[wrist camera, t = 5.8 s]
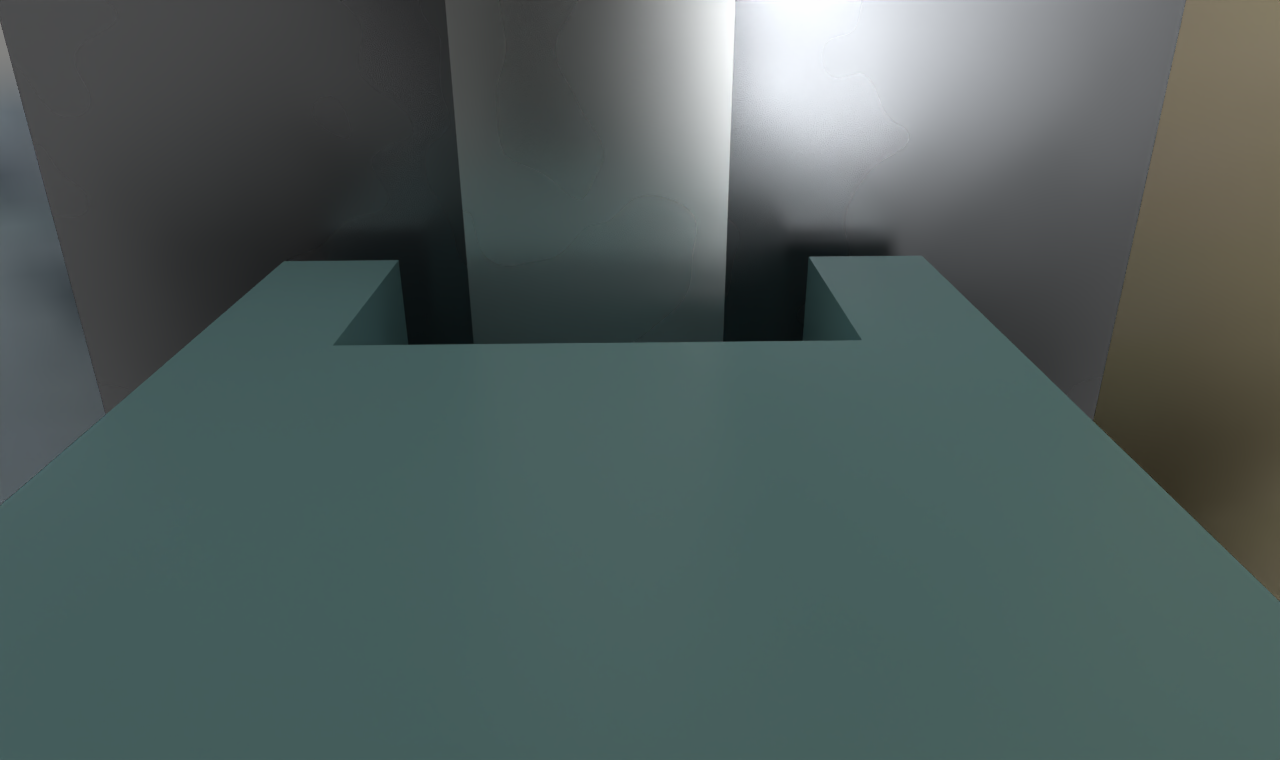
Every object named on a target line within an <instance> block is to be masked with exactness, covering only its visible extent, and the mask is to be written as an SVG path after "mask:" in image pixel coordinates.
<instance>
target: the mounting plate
mask: <svg viewBox="0 0 1280 760" xmlns="http://www.w3.org/2000/svg"><path fill="white" fill-rule="evenodd" d="M1185 2H1186V0H0V22H1V26H2V30H3V33H4V37H5V41H6V45H7V48H8V52H9V56H10V59H11V63H12V67H13V71H14V74H15V78H16V82H17V86H18V89H19V93H20V97H21V100H22V104H23V108H24V112H25V115H26V119H27V123H28V127H29V130H30V134H31V138H32V141H33V145H34V149H35V153H36V156H37V160H38V164H39V167H40V171H41V175H42V179H43V182H44V186H45V190H46V194H47V197H48V201H49V205H50V208H51V212H52V216H53V220H54V223H55V227H56V231H57V235H58V238H59V242H60V246H61V249H62V253H63V257H64V261H65V264H66V268H67V272H68V275H69V279H70V283H71V287H72V290H73V294H74V298H75V302H76V305H77V309H78V313H79V316H80V320H81V324H82V328H83V331H84V335H85V339H86V343H87V346H88V350H89V354H90V357H91V361H92V365H93V369H94V372H95V376H96V380H97V383H98V387H99V391H100V395H101V398H102V402H103V406H104V410H105V413H106V414H107V413H108V412H109V411H111V410H112V409H113V408H114V407H115V406H116V405H118V404H119V403H120V402H121V401H122V400H123V399H125V398H126V397H127V396H128V395H129V394H130V393H132V392H133V391H134V390H135V389H136V388H137V387H138V386H140V385H141V384H142V383H143V382H144V381H145V380H147V379H148V378H149V377H150V376H151V375H152V374H154V373H155V372H156V371H157V370H158V369H159V368H161V367H162V366H163V365H164V364H165V363H166V362H167V361H169V360H170V359H171V358H172V357H173V356H174V355H176V354H177V353H178V352H179V351H180V350H181V349H183V348H184V347H185V346H186V345H187V344H188V343H190V342H191V341H192V340H193V339H194V338H195V337H196V336H198V335H199V334H200V333H201V332H202V331H203V330H205V329H206V328H207V327H208V326H209V325H210V324H212V323H213V322H214V321H215V320H216V319H217V318H219V317H220V316H221V315H222V314H223V313H224V312H225V311H227V310H228V309H229V308H230V307H231V306H232V305H234V304H235V303H236V302H237V301H238V300H239V299H241V298H242V297H243V296H244V295H245V294H246V293H248V292H249V291H250V290H251V289H252V288H253V287H255V286H256V285H257V284H258V283H259V282H260V281H261V280H263V279H264V278H265V277H266V276H267V275H268V274H270V273H271V272H272V271H273V270H274V269H275V268H277V267H278V266H279V265H280V264H281V263H282V262H284V261H365V260H399V268H400V277H401V285H402V294H403V303H404V312H405V320H406V329H407V338H408V345H443V344H544V343H645V342H746V341H803V329H804V315H805V301H806V288H807V274H808V260H809V257H820V256H923V257H924V258H925V259H926V260H927V261H928V262H929V263H930V264H931V265H932V266H933V267H934V268H935V269H936V270H937V271H938V272H939V273H940V274H941V275H942V276H943V277H945V278H946V279H947V280H948V281H949V282H950V283H951V284H952V285H953V286H954V287H955V288H956V289H957V290H958V291H959V292H960V293H961V294H962V295H963V296H964V297H965V298H966V299H967V300H968V301H969V302H970V303H971V304H972V305H973V306H975V307H976V308H977V309H978V310H979V311H980V312H981V313H982V314H983V315H984V316H985V317H986V318H987V319H988V320H989V321H990V322H991V323H992V324H993V325H994V326H995V327H996V328H997V329H998V330H999V331H1000V332H1001V333H1002V334H1003V335H1004V336H1006V337H1007V338H1008V339H1009V340H1010V341H1011V342H1012V343H1013V344H1014V345H1015V346H1016V347H1017V348H1018V349H1019V350H1020V351H1021V352H1022V353H1023V354H1024V355H1025V356H1026V357H1027V358H1028V359H1029V360H1030V361H1031V362H1032V363H1033V364H1034V365H1036V366H1037V367H1038V368H1039V369H1040V370H1041V371H1042V372H1043V373H1044V374H1045V375H1046V376H1047V377H1048V378H1049V379H1050V380H1051V381H1052V382H1053V383H1054V384H1055V385H1056V386H1057V387H1058V388H1059V389H1060V390H1061V391H1062V392H1063V393H1064V394H1065V395H1067V396H1068V397H1069V398H1070V399H1071V400H1072V401H1073V402H1074V403H1075V404H1076V405H1077V406H1078V407H1079V408H1080V409H1081V410H1082V411H1083V412H1084V413H1085V414H1086V415H1087V416H1088V417H1089V418H1090V419H1091V420H1092V421H1093V419H1094V414H1095V410H1096V405H1097V401H1098V396H1099V391H1100V387H1101V382H1102V378H1103V373H1104V369H1105V364H1106V360H1107V355H1108V351H1109V346H1110V342H1111V337H1112V333H1113V328H1114V324H1115V319H1116V315H1117V310H1118V305H1119V301H1120V296H1121V292H1122V287H1123V283H1124V278H1125V274H1126V269H1127V265H1128V260H1129V256H1130V251H1131V247H1132V242H1133V238H1134V233H1135V229H1136V224H1137V219H1138V215H1139V210H1140V206H1141V201H1142V197H1143V192H1144V188H1145V183H1146V179H1147V174H1148V170H1149V165H1150V161H1151V156H1152V152H1153V147H1154V143H1155V138H1156V133H1157V129H1158V124H1159V120H1160V115H1161V111H1162V106H1163V102H1164V97H1165V93H1166V88H1167V84H1168V79H1169V75H1170V70H1171V66H1172V61H1173V56H1174V52H1175V47H1176V43H1177V38H1178V34H1179V29H1180V25H1181V20H1182V16H1183V11H1184V7H1185Z"/></svg>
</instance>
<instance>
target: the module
mask: <svg viewBox="0 0 1280 760" xmlns="http://www.w3.org/2000/svg"><path fill="white" fill-rule="evenodd" d="M0 760H1280V601H1278V600H1277V599H1276V598H1275V597H1274V596H1273V595H1272V594H1271V593H1270V592H1269V591H1268V590H1267V589H1266V588H1265V587H1264V586H1263V585H1262V584H1261V583H1260V582H1259V581H1258V580H1257V579H1256V578H1255V577H1254V576H1253V575H1252V574H1251V573H1250V572H1248V571H1247V570H1246V569H1245V568H1244V567H1243V566H1242V565H1241V564H1240V563H1239V562H1238V561H1237V560H1236V559H1235V558H1234V557H1233V556H1232V555H1231V554H1230V553H1229V552H1228V551H1227V550H1226V549H1225V548H1224V547H1223V546H1222V545H1221V544H1220V543H1219V542H1217V541H1216V540H1215V539H1214V538H1213V537H1212V536H1211V535H1210V534H1209V533H1208V532H1207V531H1206V530H1205V529H1204V528H1203V527H1202V526H1201V525H1200V524H1199V523H1198V522H1197V521H1196V520H1195V519H1194V518H1193V517H1192V516H1191V515H1190V514H1189V513H1187V512H1186V511H1185V510H1184V509H1183V508H1182V507H1181V506H1180V505H1179V504H1178V503H1177V502H1176V501H1175V500H1174V499H1173V498H1172V497H1171V496H1170V495H1169V494H1168V493H1167V492H1166V491H1165V490H1164V489H1163V488H1162V487H1161V486H1160V485H1159V484H1158V483H1156V482H1155V481H1154V480H1153V479H1152V478H1151V477H1150V476H1149V475H1148V474H1147V473H1146V472H1145V471H1144V470H1143V469H1142V468H1141V467H1140V466H1139V465H1138V464H1137V463H1136V462H1135V461H1134V460H1133V459H1132V458H1131V457H1130V456H1129V455H1128V454H1126V453H1125V452H1124V451H1123V450H1122V449H1121V448H1120V447H1119V446H1118V445H1117V444H1116V443H1115V442H1114V441H1113V440H1112V439H1111V438H1110V437H1109V436H1108V435H1107V434H1106V433H1105V432H1104V431H1103V430H1102V429H1101V428H1100V427H1099V426H1098V425H1097V424H1095V423H1094V422H1093V421H1092V420H1091V419H1090V418H1089V417H1088V416H1087V415H1086V414H1085V413H1084V412H1083V411H1082V410H1081V409H1080V408H1079V407H1078V406H1077V405H1076V404H1075V403H1074V402H1073V401H1072V400H1071V399H1070V398H1069V397H1068V396H1067V395H1065V394H1064V393H1063V392H1062V391H1061V390H1060V389H1059V388H1058V387H1057V386H1056V385H1055V384H1054V383H1053V382H1052V381H1051V380H1050V379H1049V378H1048V377H1047V376H1046V375H1045V374H1044V373H1043V372H1042V371H1041V370H1040V369H1039V368H1038V367H1037V366H1036V365H1034V364H1033V363H1032V362H1031V361H1030V360H1029V359H1028V358H1027V357H1026V356H1025V355H1024V354H1023V353H1022V352H1021V351H1020V350H1019V349H1018V348H1017V347H1016V346H1015V345H1014V344H1013V343H1012V342H1011V341H1010V340H1009V339H1008V338H1007V337H1006V336H1004V335H1003V334H1002V333H1001V332H1000V331H999V330H998V329H997V328H996V327H995V326H994V325H993V324H992V323H991V322H990V321H989V320H988V319H987V318H986V317H985V316H984V315H983V314H982V313H981V312H980V311H979V310H978V309H977V308H976V307H975V306H973V305H972V304H971V303H970V302H969V301H968V300H967V299H966V298H965V297H964V296H963V295H962V294H961V293H960V292H959V291H958V290H957V289H956V288H955V287H954V286H953V285H952V284H951V283H950V282H949V281H948V280H947V279H946V278H945V277H943V276H942V275H941V274H940V273H939V272H938V271H937V270H936V269H935V268H934V267H933V266H932V265H931V264H930V263H929V262H928V261H927V260H926V259H925V258H924V257H923V256H820V257H809V260H808V274H807V288H806V301H805V315H804V329H803V341H746V342H645V343H544V344H443V345H408V338H407V329H406V320H405V312H404V303H403V294H402V285H401V277H400V268H399V260H365V261H284V262H282V263H281V264H280V265H279V266H278V267H277V268H275V269H274V270H273V271H272V272H271V273H270V274H268V275H267V276H266V277H265V278H264V279H263V280H261V281H260V282H259V283H258V284H257V285H256V286H255V287H253V288H252V289H251V290H250V291H249V292H248V293H246V294H245V295H244V296H243V297H242V298H241V299H239V300H238V301H237V302H236V303H235V304H234V305H232V306H231V307H230V308H229V309H228V310H227V311H225V312H224V313H223V314H222V315H221V316H220V317H219V318H217V319H216V320H215V321H214V322H213V323H212V324H210V325H209V326H208V327H207V328H206V329H205V330H203V331H202V332H201V333H200V334H199V335H198V336H196V337H195V338H194V339H193V340H192V341H191V342H190V343H188V344H187V345H186V346H185V347H184V348H183V349H181V350H180V351H179V352H178V353H177V354H176V355H174V356H173V357H172V358H171V359H170V360H169V361H167V362H166V363H165V364H164V365H163V366H162V367H161V368H159V369H158V370H157V371H156V372H155V373H154V374H152V375H151V376H150V377H149V378H148V379H147V380H145V381H144V382H143V383H142V384H141V385H140V386H138V387H137V388H136V389H135V390H134V391H133V392H132V393H130V394H129V395H128V396H127V397H126V398H125V399H123V400H122V401H121V402H120V403H119V404H118V405H116V406H115V407H114V408H113V409H112V410H111V411H109V412H108V413H107V414H106V415H105V416H104V417H103V418H101V419H100V420H99V421H98V422H97V423H96V424H94V425H93V426H92V427H91V428H90V429H89V430H87V431H86V432H85V433H84V434H83V435H82V436H80V437H79V438H78V439H77V440H76V441H75V442H73V443H72V444H71V445H70V446H69V447H68V448H67V449H65V450H64V451H63V452H62V453H61V454H60V455H58V456H57V457H56V458H55V459H54V460H53V461H51V462H50V463H49V464H48V465H47V466H46V467H44V468H43V469H42V470H41V471H40V472H39V473H38V474H36V475H35V476H34V477H33V478H32V479H31V480H29V481H28V482H27V483H26V484H25V485H24V486H22V487H21V488H20V489H19V490H18V491H17V492H15V493H14V494H13V495H12V496H11V497H10V498H9V499H7V500H6V501H5V502H4V503H3V504H2V505H0Z"/></svg>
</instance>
